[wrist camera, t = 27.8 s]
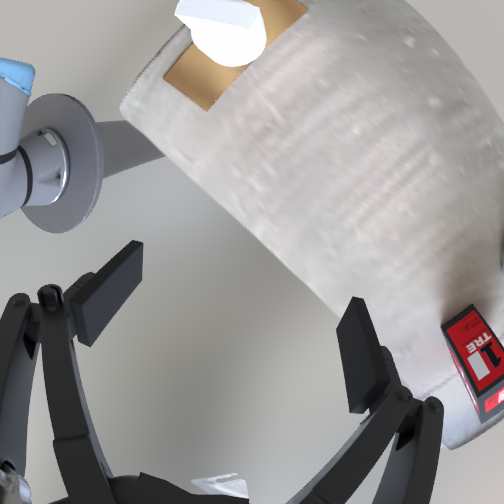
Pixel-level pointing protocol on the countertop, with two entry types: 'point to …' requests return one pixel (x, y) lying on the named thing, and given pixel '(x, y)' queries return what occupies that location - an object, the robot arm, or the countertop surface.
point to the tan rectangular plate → (221, 77)
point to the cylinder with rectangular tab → (224, 29)
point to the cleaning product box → (477, 360)
